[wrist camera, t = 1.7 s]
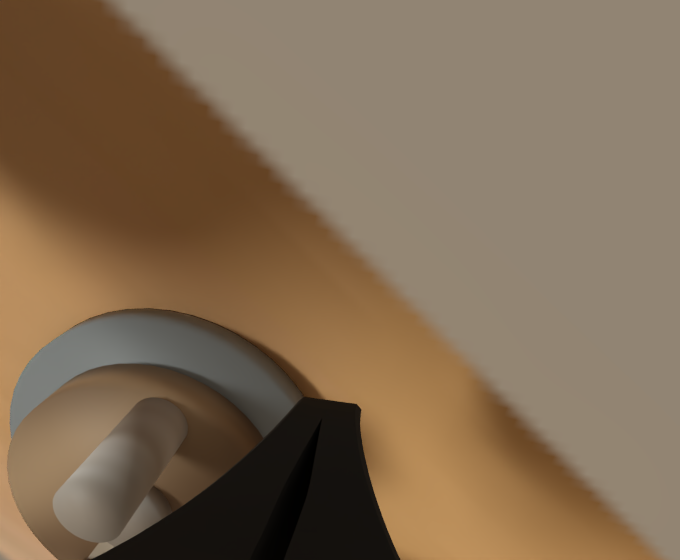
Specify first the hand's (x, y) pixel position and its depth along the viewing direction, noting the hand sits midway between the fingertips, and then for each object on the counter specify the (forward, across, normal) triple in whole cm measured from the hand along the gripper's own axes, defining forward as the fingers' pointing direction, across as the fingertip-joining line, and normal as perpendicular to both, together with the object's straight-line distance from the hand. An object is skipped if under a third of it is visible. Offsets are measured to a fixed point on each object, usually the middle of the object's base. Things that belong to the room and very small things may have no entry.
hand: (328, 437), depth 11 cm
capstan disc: (+4, +7, +6) cm, 10 cm away
